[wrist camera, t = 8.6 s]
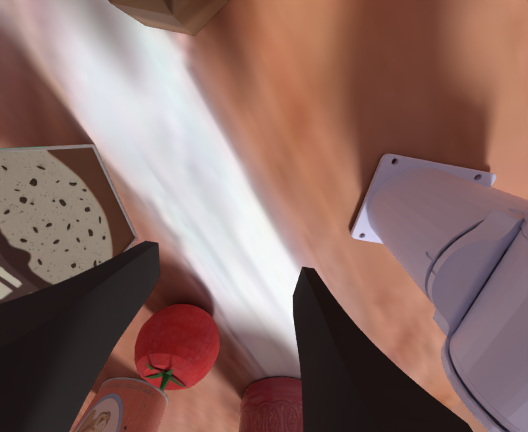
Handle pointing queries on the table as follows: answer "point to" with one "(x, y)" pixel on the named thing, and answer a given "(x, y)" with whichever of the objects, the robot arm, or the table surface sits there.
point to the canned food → (124, 407)
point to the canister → (272, 406)
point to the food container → (56, 216)
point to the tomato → (177, 347)
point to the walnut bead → (172, 13)
